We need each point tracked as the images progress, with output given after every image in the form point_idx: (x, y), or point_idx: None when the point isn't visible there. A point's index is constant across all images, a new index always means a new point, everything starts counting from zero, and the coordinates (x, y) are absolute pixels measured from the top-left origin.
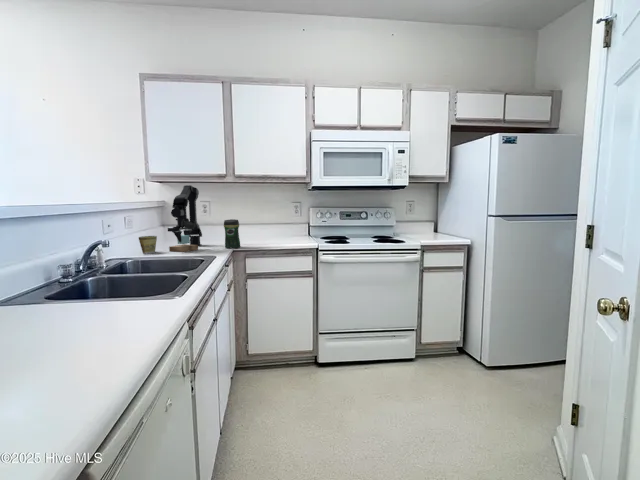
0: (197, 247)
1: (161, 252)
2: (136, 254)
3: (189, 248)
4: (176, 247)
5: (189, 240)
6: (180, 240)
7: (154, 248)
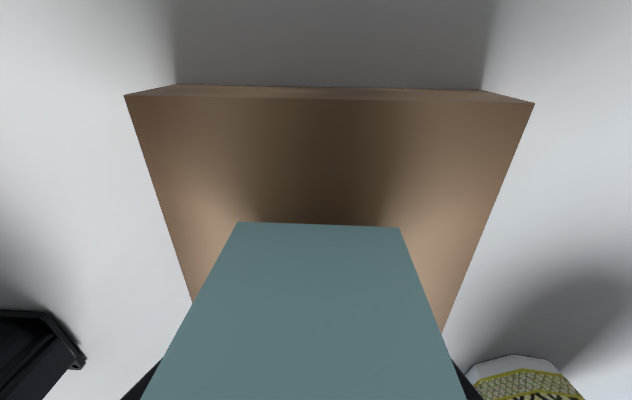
0: (170, 88)
1: (489, 319)
2: (595, 395)
3: (363, 92)
4: (468, 253)
5: (219, 258)
6: None
7: (529, 394)
